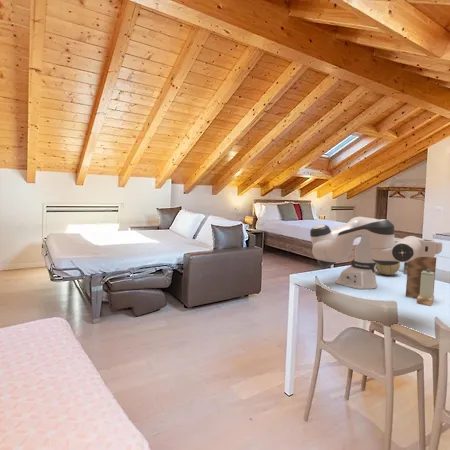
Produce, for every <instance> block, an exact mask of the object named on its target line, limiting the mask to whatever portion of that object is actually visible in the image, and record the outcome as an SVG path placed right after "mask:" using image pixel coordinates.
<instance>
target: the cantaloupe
mask: <svg viewBox="0 0 450 450" xmlns="http://www.w3.org/2000/svg"><path fill="white" fill-rule="evenodd" d="M400 266H401V262H399V263H398V264H396V265H379V264H377V263H376V271H377V272H378V273H380V274H382V275H384V276H391V275H394V274H396V273H398V271H399V269H400V268H401V267H400Z"/></svg>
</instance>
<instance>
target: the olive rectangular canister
mask: <svg viewBox="0 0 450 450" xmlns="http://www.w3.org/2000/svg"><path fill="white" fill-rule="evenodd" d="M434 275H435V276H436V271H435V272H431V271H430V269H427V271H424V270H423V271H422V272H421V282H420V295H419V296H421V297H426V298H432V296H434V294H433V287H434V288H435V282H434Z"/></svg>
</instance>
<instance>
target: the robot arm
mask: <svg viewBox="0 0 450 450" xmlns="http://www.w3.org/2000/svg"><path fill="white" fill-rule="evenodd" d="M309 234H310V238H311V244H312V249H311V252H312V255H313V257H314V258H315V259H316V261H317V263H318V264H319V265H320V266H322V267H330V266H333V265H335V264H336V263H342V262H344V261H346V260H348V258H349V257H350V255H351V254H352V251H353V247H354V246H353V245H354V242H355V240H356V239H357V238H360V240H359V243H358V244H357V245H355V248H354V258H353V259H352V260H351V261H350V262H349V263H350V266H349V267H347V268H345V269H343V270H342V271H341V272H340V274H339V277H338V278H336V279H335V284H338V285H341V286H345V287H349V288H353V289H356V290H364V289H367V290H369V289H370V290H371V289H376V288H378V284H377V279H376V271H377V270H376V263H377V264H379V265H396V264H398V263H399V262H400V263H404V262H409V261H412V260H413V259H415V258H417V257H436V256H435V255H438V254H440V253H442V250H443V242H440V241H436V240H430V239H426V238H425V239H424V238H421V237H417V236H415V235H408V236H405V237H403V238H399V237H395V224H393V223H392V221H390V220H389V219H382V218H381V219H378V218H373V217H367V216H356V217H352V218H351V219H350V220H349V221H348V222H346V223H343V224H340V225H338V226H335V227H331V228H330V226H328V225H327V224H317V225H314V226H313V227H312V228H311V229H310V232H309Z"/></svg>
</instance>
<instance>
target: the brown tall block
mask: <svg viewBox="0 0 450 450" xmlns="http://www.w3.org/2000/svg"><path fill="white" fill-rule="evenodd" d="M436 268H437V257H436V256H434V257H417V258H415V259H413V260H412V261H409V262H408V270H407V274H406V283H405V284H406V286H405V297H408V298H411V299H416V304H418V305H422V306H423V305H424V306H427V307H428V306H429V307H432V305H433V303H434V302H435V301H434V300H435V295H434V292H435V286H434V287H433V296H432V298H426V297H421V296H419V295H420V282H421V272H422V271H423V270H424V271H427V269H430V271H431V272H435V273H436ZM435 280H436V274H435V275H434V283H435V282H436V281H435Z"/></svg>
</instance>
